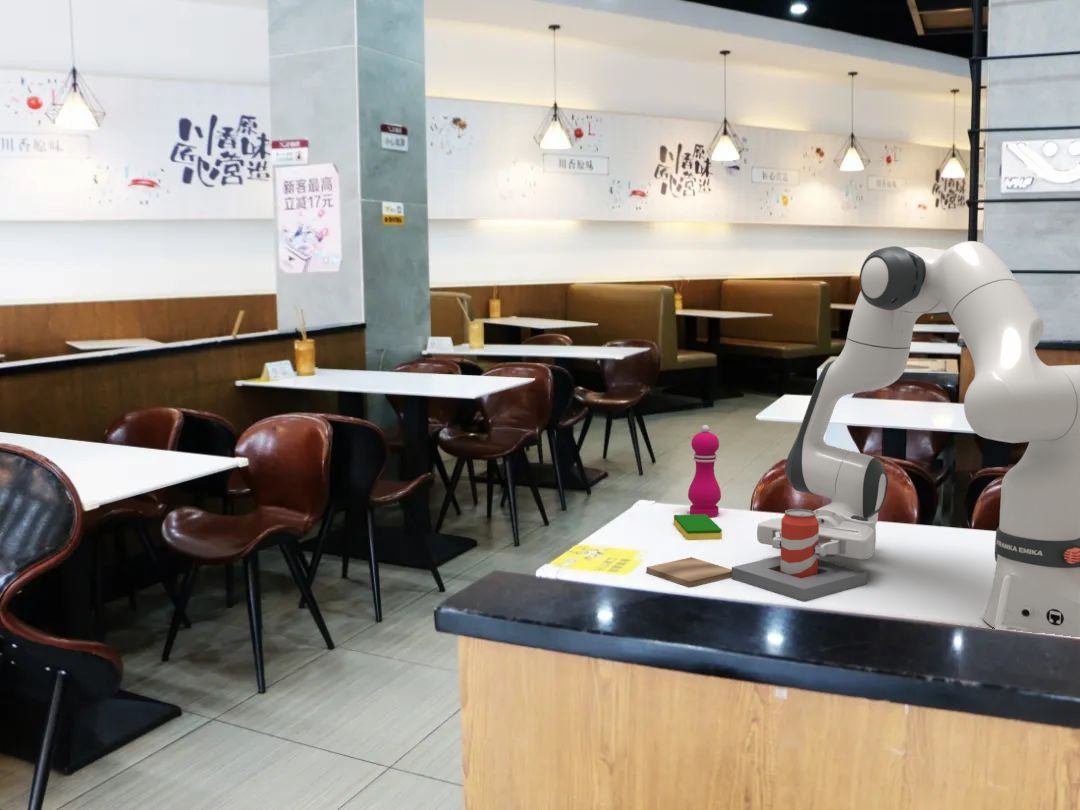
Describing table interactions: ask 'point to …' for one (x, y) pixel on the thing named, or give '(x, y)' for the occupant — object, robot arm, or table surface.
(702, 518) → the dish sponge
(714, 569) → the coaster pad
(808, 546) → the beverage can
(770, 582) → the dock
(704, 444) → the pepper mill
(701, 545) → the table surface
